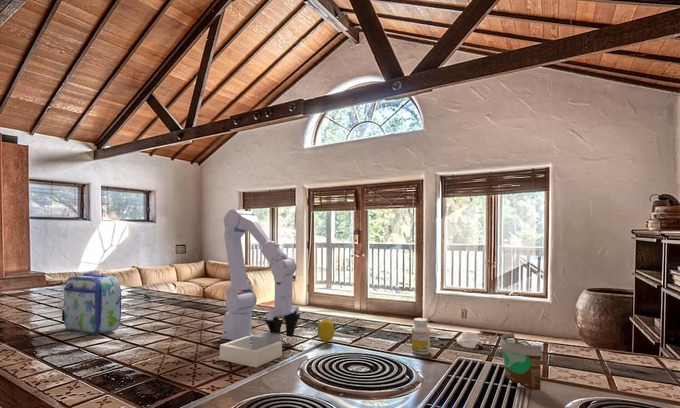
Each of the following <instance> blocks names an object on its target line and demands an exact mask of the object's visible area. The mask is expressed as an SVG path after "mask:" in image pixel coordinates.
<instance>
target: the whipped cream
mask: <svg viewBox="0 0 680 408" xmlns="http://www.w3.org/2000/svg"><path fill="white" fill-rule="evenodd" d="M461 333H462V335H460V337H458V339H456V343H457V344H458V345H459V346H461V347H463V348H466V349H475V348H476V345H482V346H483V342H482V341H481V339H480V338H481V337H480V335H479V334H478V333H476V332H465V331H462V332H461Z"/></svg>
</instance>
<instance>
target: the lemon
mask: <svg viewBox="0 0 680 408" xmlns="http://www.w3.org/2000/svg"><path fill="white" fill-rule="evenodd" d="M335 331H336V330H335V325H334V323H333V322H332V321H331V320H330V319H328V318H327V317H326V318H324V319H322V320H320V322H319V323H318V326H317V336H318V338H319V340H320V341H322V342H323V343H325V344H328V342H330V341H331V340H332V339H334V336H335Z"/></svg>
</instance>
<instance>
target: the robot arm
mask: <svg viewBox="0 0 680 408" xmlns="http://www.w3.org/2000/svg"><path fill="white" fill-rule="evenodd" d="M223 224H224V225H223V226H224V234H223V237H224V244H225V251H226V259H227V265H228V271H229V277H230V285H229V287H228V288H227V289H226V291H225V294H226V297H225V307H226V310H228V311H226V312H225V314H224V315H223V318H222V319H223V320H222V335H221V336H220V338H221V339H225V340H230V341H234V340H237V339H240V338H243V337H246V336H251V339H252V336H253V335H255V334H252V318H253V316H252V315H253V311H254V307H256V304H257V299H258V298H257V295H256V293H255V291H254V287H253V285H251V283H250V282H248V279H247V272H246V271H247V270H246V265H245V258H244V252H243V244H242V237H243V236H244V235H245V234H246V233H250V235H251V236H252V237H253V238H254V239H255V241H256V242H258V244H259V245H260V246H261V250H260V251H261V254H262V255H263V256H264V258H265V259H266V261H267V262H268V263H269V264H270V266H271V268H270V271H271V274H272V275H273V281H274V308H273V310H271V311H270V312H266V314H265V315H266V316H265V317H266V318H265V323H266V325H267V327H268V329H269V332H271V333H277V334H280V335H281V329H282V325H283V323H285V333H286V337H291V338H293V337H294V333H295V329H296V326H297V324H298V321H299V319H300V318H301V314H300V313H299V312H300V311H299V310H300V308H299V306H298V305H297V306H296V305H293V279H294V277H293V275H294V274H295V273H296V271H297V264H296V262H295V260H294V258H291V257H288V256H287V254H286V253H285V252H284V251H283V250H282V249H281V247H280V244H279V243H278V242H276V241H275V240H270V238H269V237H268V235H267V233H266V232H265V230H264V229H263V227H262V225H261V224H260V222H259V217H257V216H256V214H255V212H254V211H251V210H238V209H233V208H232V209H229V210H228V211H227V212H226V214H225V215H224V217H223ZM281 317H283V318H284V320H283V319H279V318H281Z"/></svg>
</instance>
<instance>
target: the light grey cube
mask: <svg viewBox="0 0 680 408" xmlns="http://www.w3.org/2000/svg"><path fill="white" fill-rule="evenodd" d="M279 341H280V342H281V333H280V334H277V333H271V332H270V331H263V332H259V333H257V334H254V335H253V336H252V338H251V349H252V350H258V349H260V348H263V347H265V346H268V345H271V344H273V343H276V342H279Z"/></svg>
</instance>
